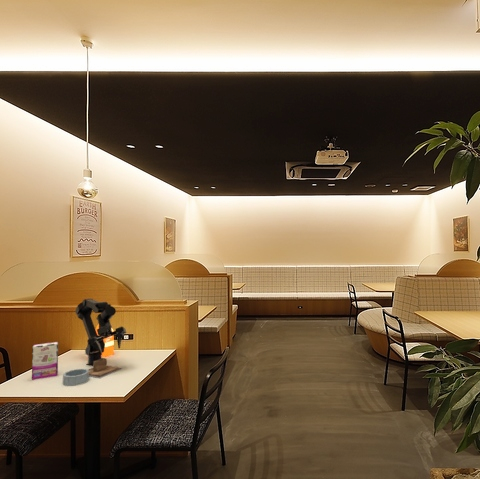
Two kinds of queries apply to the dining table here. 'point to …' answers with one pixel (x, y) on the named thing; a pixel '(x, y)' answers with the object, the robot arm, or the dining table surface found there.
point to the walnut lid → (101, 368)
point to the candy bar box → (44, 360)
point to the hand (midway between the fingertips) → (110, 351)
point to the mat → (106, 374)
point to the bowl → (75, 377)
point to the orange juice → (108, 345)
